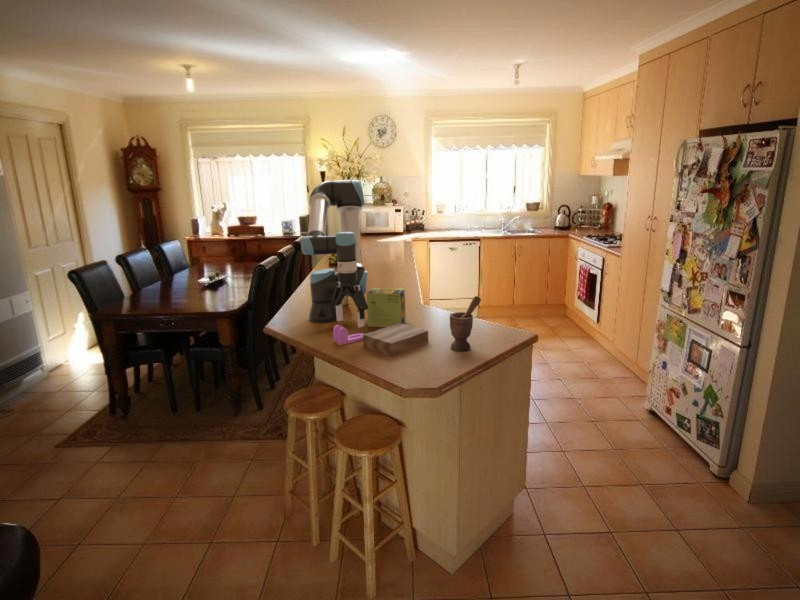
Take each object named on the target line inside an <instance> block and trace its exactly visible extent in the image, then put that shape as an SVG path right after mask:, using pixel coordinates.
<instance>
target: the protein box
mask: <svg viewBox="0 0 800 600" xmlns="http://www.w3.org/2000/svg"><path fill="white" fill-rule="evenodd" d="M366 303H367V306H368V309H367V326H368V327H371V328H372V327H373V328H385V327H389V326H392V325H395V324H398V323H401V324H405V323H406V321H407V319H406V316H407V315H406V288H398V287H397V288H396V287H395V288H394V287H372V288H371V290H369V291H368V292H366Z"/></svg>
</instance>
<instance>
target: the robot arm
mask: <svg viewBox="0 0 800 600" xmlns="http://www.w3.org/2000/svg"><path fill="white" fill-rule="evenodd" d="M308 198H309V199H308V204H309V207H310V209H309V218H308V219H309V220H308V228H307V235H305V236H302V237H301V239H300V245H301V246H300V248H301V253H302V254H303V255H304V256H305V255H306V256H307V255H309V256H315V255H335V254H336V259H337V260H336V262H337V271H336V270H335V268H333V267H331V268H323V269H322V268H321V269H319V270H318V269H317V270H315V271H312V272H311V273H310V275H309V286H310V296H311V297H310V298H311V307H310V310H309V314H308V319H310V320H309V321H310V322H312V321H313V322H312V323H317V322H319V323H321V324H324V323H325V324H326V323H333V322H341V321H344V316H343V315H344V313H343V312H344V311H343V305H342V304H343V303H342V302H343V300H344V298H345V297H350V298H351V299H352V300H353V302H354V304H355V306H356V308H357V310H356V312H357V318H356V319H357V328H362V327H364V326H365V317H366V316H365V314H366V313H365V311H366V310H368V306H367V299H366V297H365V294H367V287H368V286H367V285H368V275H369V274H368V273H369V271H368V270H366V269H365V266H364V264H362V256H361V255H362V254H361V234H360V233H361V231H360V212H361V210H362V209H363V208H362V206H364V205H365V197H364V191H363V186H362V182H361V181H360V180H359V179H338V180H334V179H333V180H325V181H323V182H321V183H319V184H317V185H316V186H315V187H314V189H313V190H312V191H311V192H310V195H309V197H308ZM335 206H336V210H337V211H338V212H339V214H340V231H339V232H336V234H334V235H333V234H332V235H327V225H328V224H327V223H328V213H329V212H328V210H329V208H330V207H335Z"/></svg>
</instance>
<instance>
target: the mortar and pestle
mask: <svg viewBox="0 0 800 600" xmlns="http://www.w3.org/2000/svg"><path fill="white" fill-rule="evenodd" d="M481 300H482V298H481V297H479V296H477V295H475V296H473V298H472V300H471V301H470V303H469V306H468V308H467V310H466V311H465V312H463V311H460V312H459V311H457V312H453V313H450V314H449V328H450V329H449V330H450V332H451V336H452V337H453V339H454V341H453V342H451V344H450V349H451V350H454V351H457V352H464V351H468V350H470V349H471V345H470V342H468V338H469V337H470V336H471V334H472V330H473V321H474V316H473V314H472V313H474V311H475V309H476V308H477V307H478V306H479V305H480V303H481Z"/></svg>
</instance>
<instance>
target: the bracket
mask: <svg viewBox="0 0 800 600" xmlns="http://www.w3.org/2000/svg"><path fill="white" fill-rule="evenodd" d="M348 332H349V331H348V329H347V328H345V327H344V326H342V325H339V324H335V325H334V326H333V329H332V334H333V335H332V336H333V343H335V342H336V343H335V344H337V343H338V344H339V346H343V345H342V344H344V345H347V343H348V344H352V343H357V342H361V341H363V335H364V334H365V333H360V332H359V333H352V334H349V333H348ZM356 341H357V342H356ZM351 342H352V343H351ZM338 344H337V345H338Z"/></svg>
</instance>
